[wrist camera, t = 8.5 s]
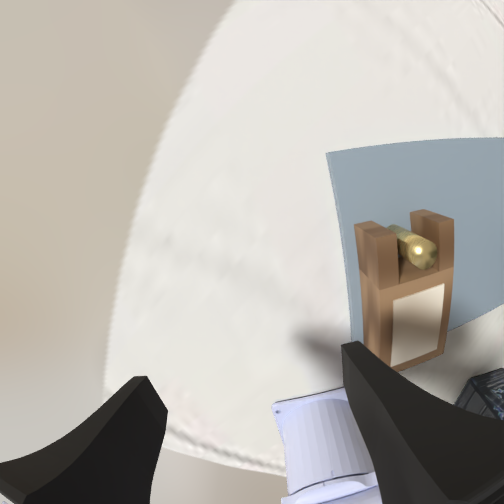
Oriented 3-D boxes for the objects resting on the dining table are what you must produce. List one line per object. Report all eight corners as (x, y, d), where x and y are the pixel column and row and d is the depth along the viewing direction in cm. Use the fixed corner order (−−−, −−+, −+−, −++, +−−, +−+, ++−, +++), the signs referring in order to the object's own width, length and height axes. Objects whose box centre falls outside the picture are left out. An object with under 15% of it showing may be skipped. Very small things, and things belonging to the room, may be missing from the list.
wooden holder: (422, 329, 19) (443, 354, 15) (363, 349, 19) (379, 379, 16) (423, 208, 16) (455, 219, 13) (353, 224, 16) (376, 238, 13)
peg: (403, 244, 17) (437, 265, 13) (383, 250, 17) (414, 272, 13) (402, 222, 16) (437, 238, 12) (381, 226, 17) (414, 244, 12)
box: (502, 366, 22) (541, 411, 12) (484, 396, 24) (516, 442, 14) (469, 376, 22) (511, 433, 12) (449, 409, 24) (482, 464, 14)
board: (501, 299, 19) (506, 302, 18) (346, 360, 21) (349, 367, 20) (502, 137, 15) (509, 137, 14) (317, 154, 16) (321, 153, 15)
